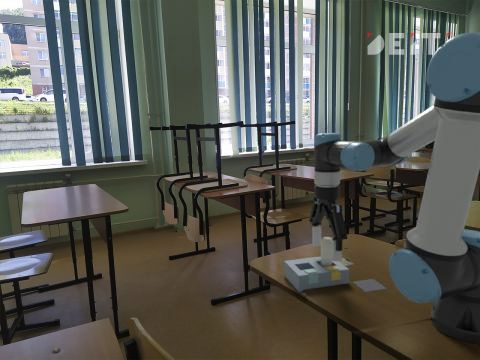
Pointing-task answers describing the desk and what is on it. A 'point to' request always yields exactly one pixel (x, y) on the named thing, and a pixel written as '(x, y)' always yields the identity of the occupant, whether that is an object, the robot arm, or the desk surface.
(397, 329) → the desk surface
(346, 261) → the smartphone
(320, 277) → the socket block
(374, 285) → the mat
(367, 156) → the robot arm
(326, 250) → the plug
